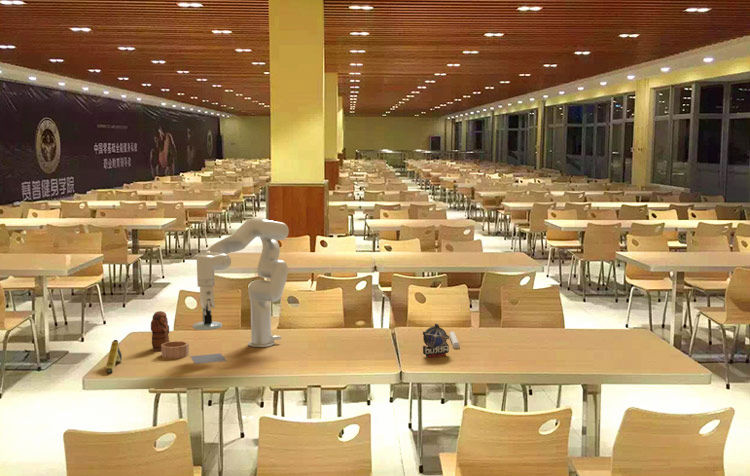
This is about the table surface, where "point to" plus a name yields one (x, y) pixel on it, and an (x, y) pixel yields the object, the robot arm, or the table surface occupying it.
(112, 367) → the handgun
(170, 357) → the bowl
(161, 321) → the wooden figurine
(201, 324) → the lid
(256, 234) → the robot arm
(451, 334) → the tube
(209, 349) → the table surface
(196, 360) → the mat
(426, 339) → the decorative emblem
